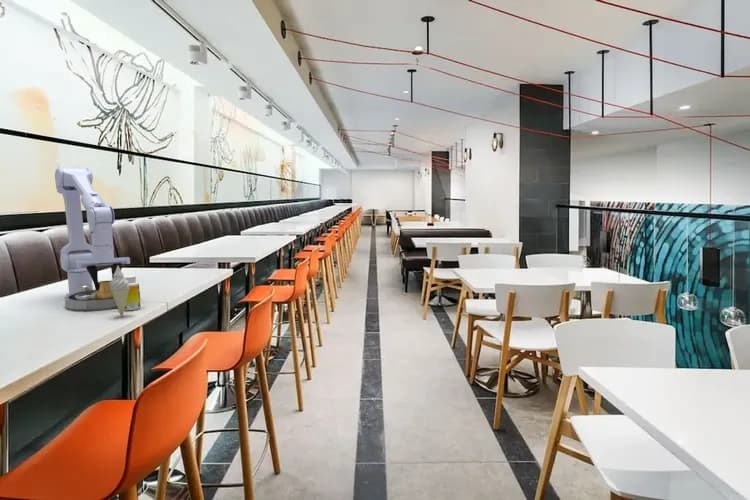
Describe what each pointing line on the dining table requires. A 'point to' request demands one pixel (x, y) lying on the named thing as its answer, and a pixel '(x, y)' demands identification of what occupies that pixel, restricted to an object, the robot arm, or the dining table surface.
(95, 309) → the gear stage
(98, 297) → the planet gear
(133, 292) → the beer glass
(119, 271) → the ice cream cone
